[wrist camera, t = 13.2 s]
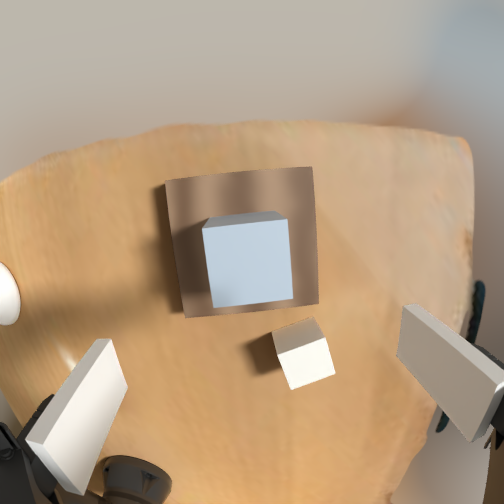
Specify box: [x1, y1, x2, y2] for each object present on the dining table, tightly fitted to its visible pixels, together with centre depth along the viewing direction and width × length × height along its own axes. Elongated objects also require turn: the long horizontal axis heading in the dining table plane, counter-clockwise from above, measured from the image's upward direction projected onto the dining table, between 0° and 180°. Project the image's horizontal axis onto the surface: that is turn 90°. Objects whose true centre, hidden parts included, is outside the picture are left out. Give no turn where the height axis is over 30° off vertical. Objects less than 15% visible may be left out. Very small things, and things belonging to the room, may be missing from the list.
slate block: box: [202, 210, 293, 308], centre depth 29 cm, size 7×7×8 cm
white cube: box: [272, 317, 335, 390], centre depth 37 cm, size 6×6×6 cm
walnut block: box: [165, 167, 319, 318], centre depth 35 cm, size 16×16×4 cm
